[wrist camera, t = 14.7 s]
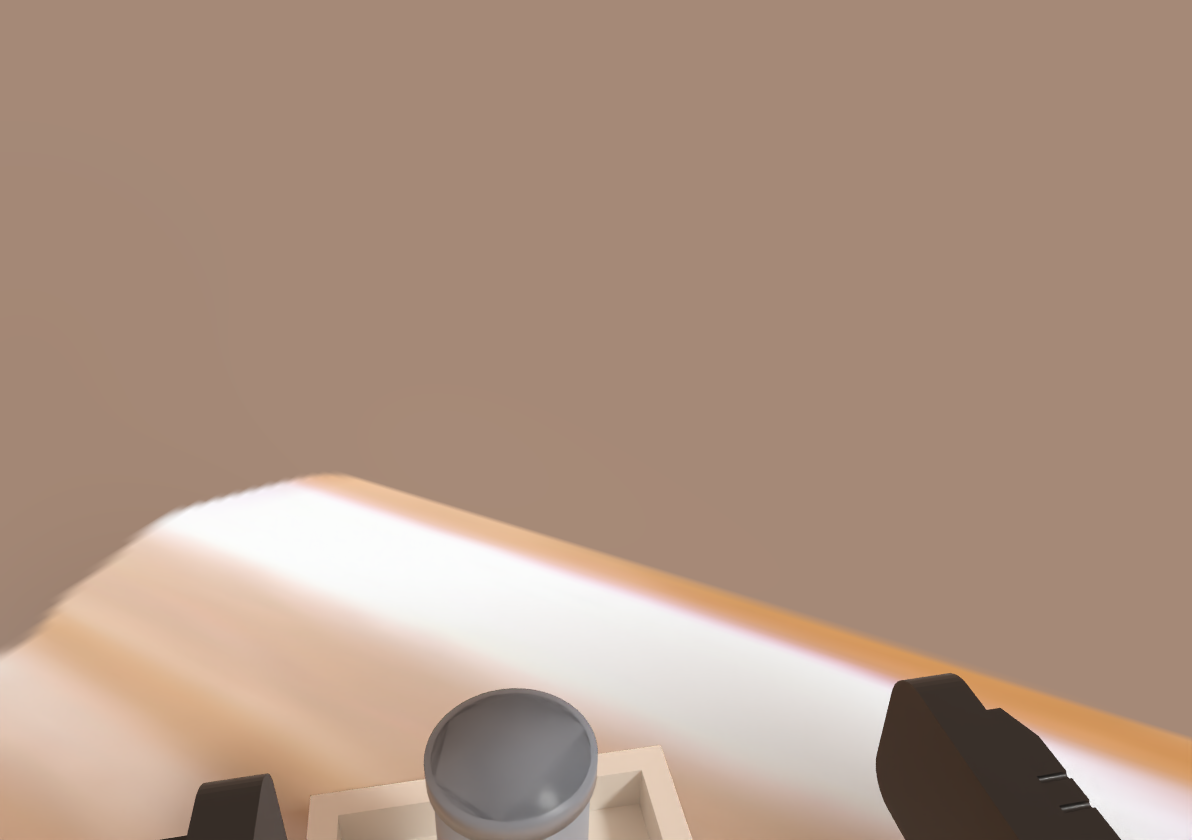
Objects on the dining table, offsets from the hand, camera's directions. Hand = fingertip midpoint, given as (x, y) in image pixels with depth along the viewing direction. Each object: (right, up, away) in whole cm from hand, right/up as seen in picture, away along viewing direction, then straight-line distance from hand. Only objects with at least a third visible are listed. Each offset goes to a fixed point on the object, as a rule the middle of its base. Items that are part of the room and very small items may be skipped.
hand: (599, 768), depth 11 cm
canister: (-3, -17, +22) cm, 28 cm away
